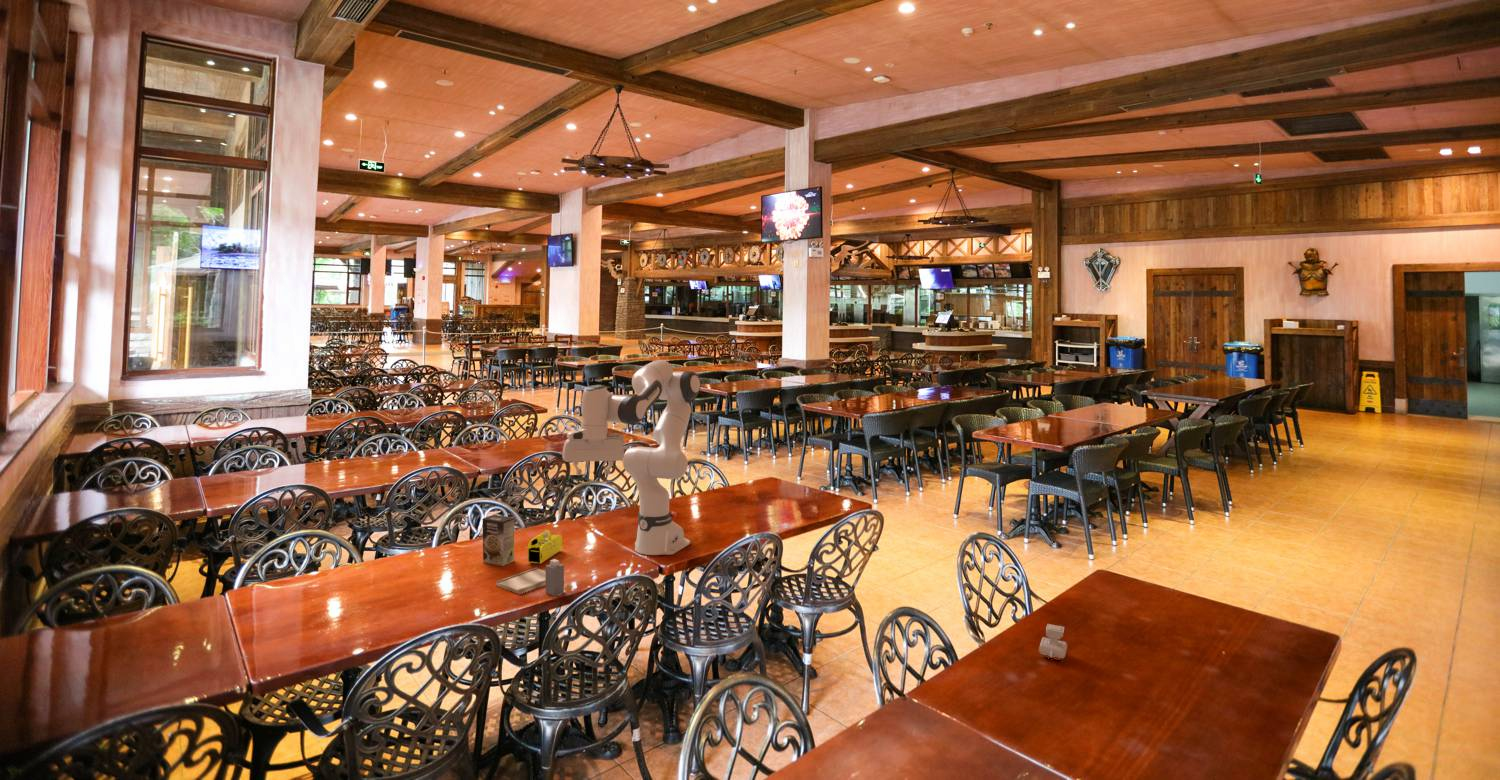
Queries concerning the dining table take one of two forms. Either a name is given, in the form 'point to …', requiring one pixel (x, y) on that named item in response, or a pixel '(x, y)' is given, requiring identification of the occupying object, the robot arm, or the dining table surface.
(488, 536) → the coffee box
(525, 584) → the board
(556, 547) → the yellow toy chassis
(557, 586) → the grey bottle
